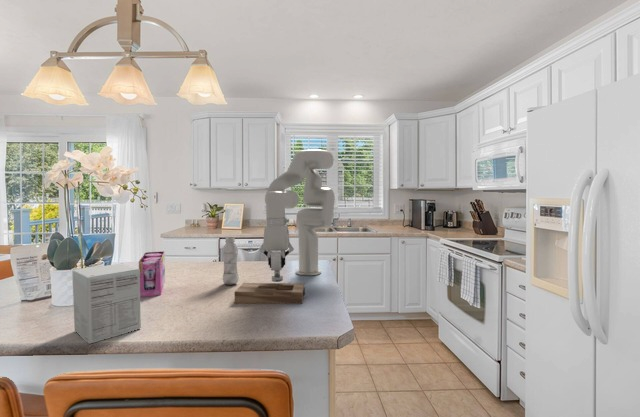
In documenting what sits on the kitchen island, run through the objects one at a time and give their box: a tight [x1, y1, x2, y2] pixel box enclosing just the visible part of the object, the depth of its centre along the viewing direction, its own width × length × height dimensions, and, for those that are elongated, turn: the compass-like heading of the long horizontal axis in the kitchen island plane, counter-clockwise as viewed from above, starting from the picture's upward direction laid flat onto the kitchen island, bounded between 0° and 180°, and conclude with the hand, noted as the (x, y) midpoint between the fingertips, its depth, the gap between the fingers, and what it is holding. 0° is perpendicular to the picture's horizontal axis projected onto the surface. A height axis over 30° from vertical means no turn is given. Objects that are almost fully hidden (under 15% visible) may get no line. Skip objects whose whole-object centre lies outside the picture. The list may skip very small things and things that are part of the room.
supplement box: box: [71, 263, 142, 345], centre depth 95 cm, size 13×13×18 cm
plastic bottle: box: [221, 236, 240, 286], centre depth 144 cm, size 6×7×20 cm
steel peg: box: [270, 250, 284, 283], centre depth 136 cm, size 4×4×12 cm
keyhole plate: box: [234, 282, 306, 305], centre depth 125 cm, size 12×24×4 cm, turn 88°
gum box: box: [138, 251, 166, 298], centre depth 137 cm, size 24×8×14 cm, turn 21°
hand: (276, 266), depth 136 cm, fingers closed on steel peg, 4 cm apart
